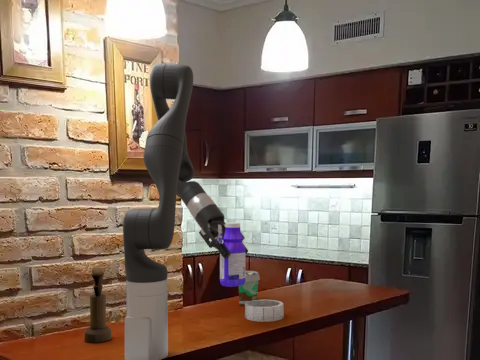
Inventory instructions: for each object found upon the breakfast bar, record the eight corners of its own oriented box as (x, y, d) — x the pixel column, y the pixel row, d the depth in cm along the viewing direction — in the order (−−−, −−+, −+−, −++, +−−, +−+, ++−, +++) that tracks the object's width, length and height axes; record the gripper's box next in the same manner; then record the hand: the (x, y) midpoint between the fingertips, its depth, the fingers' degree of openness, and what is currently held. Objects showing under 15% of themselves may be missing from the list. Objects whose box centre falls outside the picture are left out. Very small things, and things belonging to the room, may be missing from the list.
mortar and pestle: (101, 334, 134) (101, 265, 134) (116, 338, 129) (116, 267, 130) (79, 340, 128) (79, 268, 129) (94, 344, 124) (94, 270, 125)
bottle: (236, 282, 146) (235, 221, 146) (249, 285, 141) (249, 222, 142) (216, 285, 141) (215, 222, 141) (229, 288, 137) (228, 223, 137)
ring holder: (277, 322, 143) (276, 308, 143) (240, 320, 147) (240, 306, 147) (287, 314, 154) (287, 300, 154) (252, 311, 157) (252, 298, 157)
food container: (257, 307, 163) (256, 276, 163) (238, 307, 164) (237, 275, 165) (263, 299, 175) (262, 270, 175) (245, 299, 176) (245, 270, 177)
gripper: (195, 203, 141) (227, 248, 133) (228, 202, 152) (260, 243, 144) (181, 222, 144) (212, 267, 136) (215, 219, 155) (245, 261, 148)
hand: (237, 255), depth 140 cm, fingers closed on bottle, 7 cm apart
